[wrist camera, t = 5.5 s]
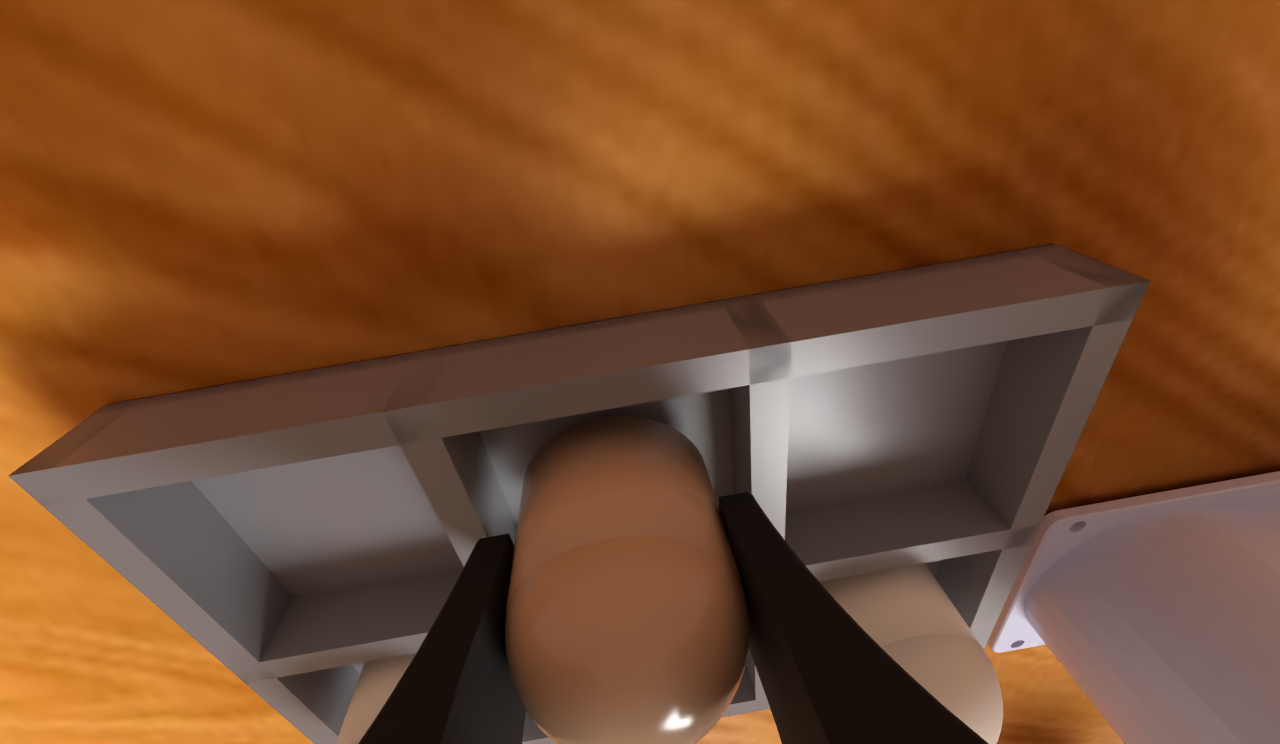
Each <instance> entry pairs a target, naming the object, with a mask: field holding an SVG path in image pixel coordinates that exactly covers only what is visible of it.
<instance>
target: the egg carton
mask: <svg viewBox="0 0 1280 744" xmlns="http://www.w3.org/2000/svg"><path fill="white" fill-rule="evenodd" d="M1149 283H1150V281H1149V280H1147V279H1144V278H1142V277H1139V276H1136V275H1134V274H1131V273H1129V272H1126V271H1124V270H1121V269H1118V268H1116V267H1113V266H1111V265H1108V264H1106V263H1103V262H1100V261H1098V260H1095V259H1093V258H1090V257H1088V256H1085V255H1082V254H1080V253H1077V252H1075V251H1072V250H1070V249H1067V248H1064V247H1062V246H1059V245H1057V244H1051V245H1045V246H1040V247H1034V248H1028V249H1022V250H1016V251H1010V252H1004V253H998V254H992V255H986V256H980V257H975V258H969V259H963V260H957V261H951V262H945V263H939V264H933V265H927V266H921V267H915V268H910V269H904V270H898V271H892V272H886V273H880V274H874V275H868V276H862V277H856V278H850V279H845V280H839V281H833V282H827V283H821V284H815V285H809V286H803V287H797V288H791V289H785V290H780V291H774V292H768V293H762V294H756V295H750V296H744V297H738V298H732V299H726V300H721V301H715V302H709V303H703V304H697V305H691V306H685V307H679V308H673V309H667V310H661V311H656V312H650V313H644V314H638V315H632V316H626V317H620V318H614V319H608V320H602V321H596V322H591V323H585V324H579V325H573V326H567V327H561V328H555V329H549V330H543V331H537V332H531V333H526V334H520V335H514V336H508V337H502V338H496V339H490V340H484V341H478V342H472V343H466V344H461V345H455V346H449V347H443V348H437V349H431V350H425V351H419V352H413V353H407V354H402V355H396V356H390V357H384V358H378V359H372V360H366V361H360V362H354V363H348V364H342V365H337V366H331V367H325V368H319V369H313V370H307V371H301V372H295V373H289V374H283V375H277V376H272V377H266V378H260V379H254V380H248V381H242V382H236V383H230V384H224V385H218V386H212V387H207V388H201V389H195V390H189V391H183V392H177V393H171V394H165V395H159V396H153V397H148V398H142V399H136V400H130V401H124V402H118V403H112V404H106V405H105V406H103V407H102V408H101V409H99V410H98V411H97V412H95V413H94V414H92V415H91V416H90V417H88V418H87V419H86V420H84V421H83V422H81V423H80V424H79V425H77V426H76V427H75V428H73V429H72V430H71V431H69V432H68V433H66V434H65V435H64V436H62V437H61V438H60V439H58V440H57V441H55V442H54V443H53V444H51V445H50V446H49V447H47V448H46V449H44V450H43V451H42V452H40V453H39V454H38V455H36V456H35V457H33V458H32V459H31V460H29V461H28V462H27V463H25V464H24V465H23V466H21V467H20V468H18V469H17V470H16V471H14V472H13V473H12V474H10V475H9V477H10V478H11V479H13V480H14V481H15V482H16V483H17V484H18V485H19V486H21V487H22V488H23V489H24V490H25V491H26V492H27V493H29V494H30V495H31V496H32V497H33V498H34V499H35V500H37V501H38V502H39V503H40V504H41V505H42V506H43V507H45V508H46V509H47V510H48V511H49V512H50V513H51V514H53V515H54V516H55V517H56V518H57V519H58V520H59V521H61V522H62V523H63V524H64V525H65V526H66V527H67V528H69V529H70V530H71V531H72V532H73V533H74V534H75V535H77V536H78V537H79V538H80V539H81V540H82V541H83V542H85V543H86V544H87V545H88V546H89V547H90V548H91V549H93V550H94V551H95V552H96V553H97V554H98V555H99V556H101V557H102V558H103V559H104V560H105V561H106V562H107V563H109V564H110V565H111V566H112V567H113V568H114V569H115V570H117V571H118V572H119V573H120V574H121V575H122V576H123V577H125V578H126V579H127V580H128V581H129V582H130V583H131V584H133V585H134V586H135V587H136V588H137V589H138V590H139V591H141V592H142V593H143V594H144V595H145V596H146V597H147V598H149V599H150V600H151V601H152V602H153V603H154V604H155V605H157V606H158V607H159V608H160V609H161V610H162V611H163V612H165V613H166V614H167V615H168V616H169V617H170V618H171V619H173V620H174V621H175V622H176V623H177V624H178V625H179V626H181V627H182V628H183V629H184V630H185V631H186V632H187V633H189V634H190V635H191V636H192V637H193V638H194V639H195V640H197V641H198V642H199V643H200V644H201V645H202V646H203V647H205V648H206V649H207V650H208V651H209V652H210V653H211V654H213V655H214V656H215V657H216V658H217V659H218V660H219V661H221V662H222V663H223V664H224V665H225V666H226V667H227V668H229V669H230V670H231V671H232V672H233V673H234V674H235V675H237V676H238V677H239V678H240V679H241V680H242V681H243V682H245V683H246V684H247V685H248V686H249V687H250V688H251V689H253V690H254V691H255V692H256V693H257V694H258V695H259V696H261V697H262V698H263V699H264V700H265V701H266V702H267V703H269V704H270V705H271V706H272V707H273V708H274V709H275V710H277V711H278V712H279V713H280V714H281V715H282V716H283V717H285V718H286V719H287V720H288V721H289V722H290V723H291V724H293V725H294V726H295V727H296V728H297V729H298V730H299V731H301V732H302V733H303V734H304V735H305V736H306V737H307V738H309V739H310V740H311V741H312V742H313V743H314V744H358V743H359V742H360V740H361V739H362V737H363V736H364V734H365V733H366V732H367V730H368V729H369V727H370V726H371V724H372V723H373V721H374V720H375V718H376V717H377V715H378V714H379V712H380V711H381V709H382V707H383V706H384V704H385V703H386V701H387V700H388V698H389V696H390V695H391V693H392V692H393V690H394V688H395V687H396V685H397V684H398V682H399V680H400V679H401V677H402V676H403V674H404V672H405V671H406V669H407V668H408V666H409V664H410V663H411V661H412V659H413V658H414V656H415V654H416V653H417V651H418V649H419V648H420V646H421V644H422V642H423V641H424V639H425V637H426V635H427V634H428V632H429V630H430V628H431V627H432V625H433V623H434V621H435V620H436V618H437V616H438V614H439V613H440V611H441V609H442V607H443V605H444V604H445V602H446V600H447V598H448V596H449V594H450V592H451V591H452V589H453V587H454V585H455V583H456V581H457V579H458V577H459V575H460V574H461V572H462V570H463V568H464V566H465V564H466V562H467V560H468V558H469V556H470V554H471V552H472V550H473V548H474V546H475V544H476V543H477V541H478V540H479V539H480V538H486V537H491V536H497V535H503V534H510V537H511V539H512V541H513V544H514V546H515V539H516V532H517V524H518V516H519V509H520V501H521V494H522V486H523V479H524V475H525V472H526V469H527V467H528V465H529V463H530V461H531V460H532V458H533V457H534V455H535V454H536V452H537V451H538V450H539V449H540V448H541V447H542V446H543V445H544V444H545V443H546V442H548V441H549V440H550V439H551V438H552V437H554V436H556V435H557V434H559V433H560V432H562V431H564V430H566V429H568V428H570V427H572V426H574V425H577V424H580V423H583V422H586V421H589V420H593V419H598V418H604V417H612V416H631V417H641V418H646V419H651V420H654V421H657V422H660V423H663V424H666V425H668V426H670V427H672V428H674V429H676V430H677V431H679V432H680V433H682V434H684V435H685V436H686V437H687V438H688V439H689V440H691V441H692V443H693V444H694V445H695V446H696V447H697V448H698V450H699V452H700V453H701V455H702V457H703V459H704V462H705V465H706V468H707V471H708V474H709V477H710V481H711V484H712V487H713V490H714V493H715V497H716V500H717V503H718V506H719V498H718V497H721V496H726V495H732V494H738V493H744V492H749V493H750V494H752V495H753V496H754V498H755V499H756V501H757V502H758V504H759V505H760V507H761V508H762V510H763V511H764V513H765V514H766V516H767V517H768V518H769V520H770V521H771V523H772V524H773V525H774V527H775V528H776V529H777V531H778V532H779V533H780V535H781V536H782V537H783V538H784V540H785V541H786V542H787V544H788V545H789V546H790V548H791V549H792V550H793V551H794V552H795V554H796V555H797V556H798V557H799V559H800V560H801V561H802V562H803V563H804V565H805V566H806V567H807V568H808V569H809V570H810V572H811V573H812V574H813V575H814V576H815V577H816V579H817V580H818V581H819V582H820V583H821V584H822V586H823V587H824V588H825V589H826V590H827V591H828V592H829V593H830V595H831V596H832V597H833V598H834V599H835V600H836V601H837V602H838V603H839V605H840V606H841V607H842V608H843V609H844V610H845V611H846V612H847V613H848V614H849V615H850V616H851V617H852V618H853V619H854V620H855V621H856V623H857V624H858V625H859V626H860V627H861V628H862V629H863V630H864V631H865V632H866V633H867V634H868V635H869V636H870V637H871V638H872V639H873V640H874V641H875V642H876V643H877V644H878V645H879V646H880V647H881V648H882V649H883V650H884V651H885V652H886V653H887V654H888V655H889V656H890V657H891V658H892V659H894V660H895V661H896V662H897V663H898V664H899V665H900V666H901V667H902V668H903V669H904V670H905V671H906V672H907V673H908V674H909V675H910V676H911V677H913V678H914V679H915V680H916V681H917V682H918V683H919V684H920V685H921V686H922V687H924V688H925V689H926V690H927V691H928V692H929V693H930V694H931V695H932V696H934V697H935V698H936V699H937V700H938V701H939V702H940V703H941V704H942V705H944V706H945V707H946V708H947V709H948V710H949V711H950V712H952V713H953V714H954V715H955V716H956V717H958V718H959V719H960V720H961V721H962V722H964V723H965V724H966V725H967V726H968V727H970V728H971V729H972V730H973V731H974V732H976V733H977V734H978V735H979V736H980V737H981V738H983V739H984V740H985V741H986V742H987V743H989V744H997V742H998V739H999V736H1000V733H1001V729H1002V721H1003V700H1002V695H1001V689H1000V684H999V681H998V678H997V675H996V672H995V670H994V668H993V666H992V663H991V661H990V659H989V658H988V656H987V654H986V653H985V651H984V648H985V646H986V644H987V642H988V639H989V637H990V635H991V633H992V631H993V628H994V626H995V624H996V622H997V619H998V617H999V615H1000V613H1001V611H1002V608H1003V606H1004V604H1005V602H1006V599H1007V597H1008V595H1009V593H1010V591H1011V588H1012V586H1013V584H1014V582H1015V580H1016V577H1017V575H1018V573H1019V571H1020V568H1021V566H1022V564H1023V562H1024V560H1025V557H1026V555H1027V553H1028V551H1029V549H1030V546H1031V544H1032V542H1033V540H1034V537H1035V535H1036V533H1037V531H1038V529H1039V526H1040V524H1041V522H1042V520H1043V517H1044V515H1045V513H1046V511H1047V509H1048V506H1049V504H1050V502H1051V500H1052V498H1053V495H1054V493H1055V491H1056V489H1057V486H1058V484H1059V482H1060V480H1061V478H1062V475H1063V473H1064V471H1065V469H1066V467H1067V464H1068V462H1069V460H1070V458H1071V455H1072V453H1073V451H1074V449H1075V447H1076V444H1077V442H1078V440H1079V438H1080V436H1081V433H1082V431H1083V429H1084V427H1085V424H1086V422H1087V420H1088V418H1089V416H1090V413H1091V411H1092V409H1093V407H1094V404H1095V402H1096V400H1097V398H1098V396H1099V393H1100V391H1101V389H1102V387H1103V385H1104V382H1105V380H1106V378H1107V376H1108V373H1109V371H1110V369H1111V367H1112V365H1113V362H1114V360H1115V358H1116V356H1117V354H1118V351H1119V349H1120V347H1121V345H1122V342H1123V340H1124V338H1125V336H1126V334H1127V331H1128V329H1129V327H1130V325H1131V322H1132V320H1133V318H1134V316H1135V314H1136V311H1137V309H1138V307H1139V305H1140V303H1141V300H1142V298H1143V296H1144V294H1145V291H1146V289H1147V287H1148V285H1149ZM765 709H770V706H769V703H768V700H767V697H766V695H765V692H764V689H763V686H762V683H761V681H760V678H759V675H758V672H757V669H756V666H755V664H754V661H753V658H752V655H751V652H750V650H749V647H748V654H747V660H746V665H745V669H744V672H743V675H742V678H741V681H740V684H739V687H738V689H737V691H736V693H735V695H734V697H733V699H732V701H731V703H730V705H729V707H728V709H727V710H726V712H725V713H724V714H723V716H722V717H726V716H732V715H738V714H743V713H749V712H754V711H760V710H765ZM522 744H556V743H555V742H553V741H552V740H551V739H550V738H549V737H548V736H547V735H545V734H544V733H543V732H542V731H541V729H540V728H539V727H538V726H537V724H536V723H535V722H534V721H533V720H532V718H531V717H530V715H529V714H528V712H527V711H526V715H525V724H524V732H523V740H522Z"/></svg>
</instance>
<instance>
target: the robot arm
mask: <svg viewBox="0 0 1280 744" xmlns="http://www.w3.org/2000/svg"><path fill="white" fill-rule="evenodd" d="M718 498H719V512H720V515H721V518H722V521H723V525H724V528H725V531H726V534H727V538H728V541H729V544H730V547H731V550H732V553H733V556H734V559H735V562H736V565H737V569H738V572H739V575H740V578H741V581H742V584H743V587H744V591H745V595H746V599H747V605H748V613H749V623H750V630H749V650H750V652H751V655H752V658H753V661H754V664H755V666H756V669H757V672H758V675H759V678H760V681H761V683H762V686H763V689H764V692H765V695H766V697H767V700H768V703H769V706H770V709H771V711H772V714H773V717H774V720H775V723H776V726H777V729H778V732H779V735H780V738H781V741H782V744H989V743H987V742H986V741H985V740H984V739H983V738H981V737H980V736H979V735H978V734H977V733H976V732H974V731H973V730H972V729H971V728H970V727H968V726H967V725H966V724H965V723H964V722H962V721H961V720H960V719H959V718H958V717H956V716H955V715H954V714H953V713H952V712H950V711H949V710H948V709H947V708H946V707H945V706H944V705H942V704H941V703H940V702H939V701H938V700H937V699H936V698H935V697H934V696H932V695H931V694H930V693H929V692H928V691H927V690H926V689H925V688H924V687H922V686H921V685H920V684H919V683H918V682H917V681H916V680H915V679H914V678H913V677H911V676H910V675H909V674H908V673H907V672H906V671H905V670H904V669H903V668H902V667H901V666H900V665H899V664H898V663H897V662H896V661H895V660H894V659H892V658H891V657H890V656H889V655H888V654H887V653H886V652H885V651H884V650H883V649H882V648H881V647H880V646H879V645H878V644H877V643H876V642H875V641H874V640H873V639H872V638H871V637H870V636H869V635H868V634H867V633H866V632H865V631H864V630H863V629H862V628H861V627H860V626H859V625H858V624H857V623H856V621H855V620H854V619H853V618H852V617H851V616H850V615H849V614H848V613H847V612H846V611H845V610H844V609H843V608H842V607H841V606H840V605H839V603H838V602H837V601H836V600H835V599H834V598H833V597H832V596H831V595H830V593H829V592H828V591H827V590H826V589H825V588H824V587H823V586H822V584H821V583H820V582H819V581H818V580H817V579H816V577H815V576H814V575H813V574H812V573H811V572H810V570H809V569H808V568H807V567H806V566H805V565H804V563H803V562H802V561H801V560H800V559H799V557H798V556H797V555H796V554H795V552H794V551H793V550H792V549H791V548H790V546H789V545H788V544H787V542H786V541H785V540H784V538H783V537H782V536H781V535H780V533H779V532H778V531H777V529H776V528H775V527H774V525H773V524H772V523H771V521H770V520H769V518H768V517H767V516H766V514H765V513H764V511H763V510H762V508H761V507H760V505H759V504H758V502H757V501H756V499H755V498H754V496H753V495H752V494H750V493H749V492H744V493H738V494H732V495H726V496H721V497H718ZM514 547H515V546H514V544H513V541H512V539H511V537H510V534H503V535H497V536H491V537H486V538H480V539H479V540H478V541H477V543H476V544H475V546H474V548H473V550H472V552H471V554H470V556H469V558H468V560H467V562H466V564H465V566H464V568H463V570H462V572H461V574H460V575H459V577H458V579H457V581H456V583H455V585H454V587H453V589H452V591H451V592H450V594H449V596H448V598H447V600H446V602H445V604H444V605H443V607H442V609H441V611H440V613H439V614H438V616H437V618H436V620H435V621H434V623H433V625H432V627H431V628H430V630H429V632H428V634H427V635H426V637H425V639H424V641H423V642H422V644H421V646H420V648H419V649H418V651H417V653H416V654H415V656H414V658H413V659H412V661H411V663H410V664H409V666H408V668H407V669H406V671H405V672H404V674H403V676H402V677H401V679H400V680H399V682H398V684H397V685H396V687H395V688H394V690H393V692H392V693H391V695H390V696H389V698H388V700H387V701H386V703H385V704H384V706H383V707H382V709H381V711H380V712H379V714H378V715H377V717H376V718H375V720H374V721H373V723H372V724H371V726H370V727H369V729H368V730H367V732H366V733H365V734H364V736H363V737H362V739H361V740H360V742H359V743H358V744H522V740H523V732H524V724H525V715H526V709H525V707H524V706H523V704H522V702H521V700H520V698H519V696H518V694H517V691H516V689H515V686H514V683H513V681H512V678H511V675H510V671H509V667H508V662H507V657H506V649H505V636H504V633H505V617H506V607H507V599H508V592H509V584H510V577H511V569H512V562H513V554H514ZM987 644H988V645H989V646H990V648H991V649H992V650H993V651H994V652H998V653H999V652H1006V651H1012V650H1018V649H1023V648H1029V647H1034V646H1040V645H1045V644H1046V645H1047V647H1048V648H1049V649H1050V650H1051V652H1052V653H1053V654H1054V655H1055V657H1056V658H1057V659H1058V660H1059V662H1060V663H1061V664H1062V665H1063V667H1064V668H1065V669H1066V670H1067V672H1068V673H1069V674H1070V675H1071V677H1072V678H1073V679H1074V680H1075V682H1076V683H1077V684H1078V686H1079V687H1080V688H1081V689H1082V691H1083V692H1084V693H1085V694H1086V696H1087V697H1088V698H1089V699H1090V701H1091V702H1092V703H1093V704H1094V706H1095V707H1096V708H1097V709H1098V711H1099V712H1100V713H1101V714H1102V716H1103V717H1104V718H1105V719H1106V721H1107V722H1108V723H1109V724H1110V726H1111V727H1112V728H1113V729H1114V731H1115V732H1116V733H1117V734H1118V736H1119V737H1120V738H1121V740H1122V741H1123V742H1124V743H1125V744H1280V471H1277V472H1271V473H1265V474H1260V475H1254V476H1248V477H1243V478H1237V479H1231V480H1226V481H1220V482H1214V483H1209V484H1203V485H1197V486H1192V487H1186V488H1180V489H1175V490H1169V491H1163V492H1158V493H1152V494H1146V495H1141V496H1135V497H1129V498H1124V499H1118V500H1112V501H1107V502H1101V503H1095V504H1090V505H1084V506H1078V507H1073V508H1067V509H1061V510H1056V511H1053V512H1050V513H1048V514H1047V515H1045V516H1044V517H1043V520H1042V522H1041V524H1040V526H1039V529H1038V531H1037V533H1036V535H1035V537H1034V540H1033V542H1032V544H1031V546H1030V549H1029V551H1028V553H1027V555H1026V557H1025V560H1024V562H1023V564H1022V566H1021V568H1020V571H1019V573H1018V575H1017V577H1016V580H1015V582H1014V584H1013V586H1012V588H1011V591H1010V593H1009V595H1008V597H1007V599H1006V602H1005V604H1004V606H1003V608H1002V611H1001V613H1000V615H999V617H998V619H997V622H996V624H995V626H994V628H993V631H992V633H991V635H990V637H989V639H988V642H987Z"/></svg>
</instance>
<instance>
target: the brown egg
mask: <svg viewBox="0 0 1280 744" xmlns="http://www.w3.org/2000/svg"><path fill="white" fill-rule="evenodd" d="M749 630H750V623H749V613H748V605H747V599H746V595H745V591H744V587H743V584H742V581H741V578H740V575H739V572H738V569H737V565H736V562H735V559H734V556H733V553H732V550H731V547H730V544H729V541H728V538H727V534H726V531H725V528H724V525H723V521H722V518H721V515H720V512H719V506H718V503H717V500H716V497H715V493H714V490H713V487H712V484H711V481H710V477H709V474H708V471H707V468H706V465H705V462H704V459H703V457H702V455H701V453H700V452H699V450H698V448H697V447H696V446H695V445H694V444H693V443H692V441H691V440H689V439H688V438H687V437H686V436H685V435H684V434H682V433H680V432H679V431H677V430H676V429H674V428H672V427H670V426H668V425H666V424H663V423H660V422H657V421H654V420H651V419H646V418H641V417H631V416H612V417H604V418H598V419H593V420H589V421H586V422H583V423H580V424H577V425H574V426H572V427H570V428H568V429H566V430H564V431H562V432H560V433H559V434H557V435H556V436H554V437H552V438H551V439H550V440H549V441H548V442H546V443H545V444H544V445H543V446H542V447H541V448H540V449H539V450H538V451H537V452H536V454H535V455H534V457H533V458H532V460H531V461H530V463H529V465H528V467H527V469H526V472H525V475H524V479H523V486H522V494H521V501H520V509H519V516H518V524H517V532H516V539H515V547H514V554H513V562H512V569H511V577H510V584H509V592H508V599H507V607H506V617H505V633H504V636H505V649H506V657H507V662H508V667H509V671H510V675H511V678H512V681H513V683H514V686H515V689H516V691H517V694H518V696H519V698H520V700H521V702H522V704H523V706H524V707H525V709H526V711H527V712H528V714H529V715H530V717H531V718H532V720H533V721H534V722H535V723H536V724H537V726H538V727H539V728H540V729H541V731H542V732H543V733H544V734H545V735H547V736H548V737H549V738H550V739H551V740H552V741H553V742H555V743H556V744H696V743H698V742H699V741H700V740H701V739H702V738H703V737H704V736H705V735H706V734H707V733H708V732H709V731H710V730H712V729H713V727H714V726H715V725H716V724H717V722H718V721H719V720H720V718H721V717H722V716H723V714H724V713H725V712H726V710H727V709H728V707H729V705H730V703H731V701H732V699H733V697H734V695H735V693H736V691H737V689H738V687H739V684H740V681H741V678H742V675H743V672H744V669H745V665H746V660H747V654H748V647H749Z"/></svg>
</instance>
